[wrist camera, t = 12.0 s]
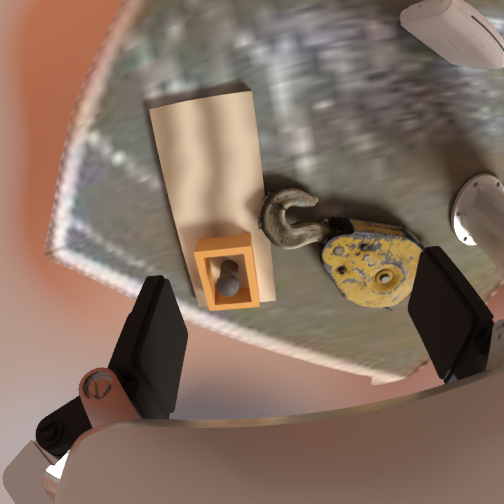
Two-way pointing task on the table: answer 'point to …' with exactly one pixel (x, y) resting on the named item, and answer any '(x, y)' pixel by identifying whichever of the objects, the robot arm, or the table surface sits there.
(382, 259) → the pulley block
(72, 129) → the table surface
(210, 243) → the link
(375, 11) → the table surface
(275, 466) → the robot arm
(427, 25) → the photo printer
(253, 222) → the keeper board
